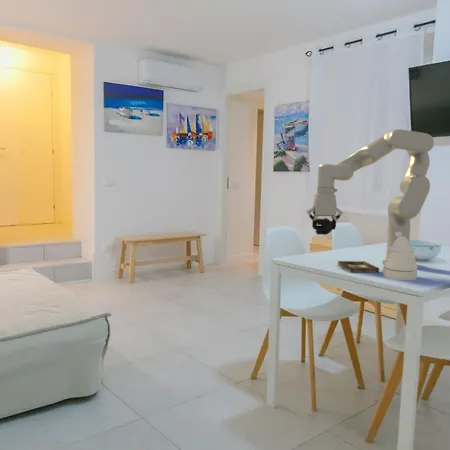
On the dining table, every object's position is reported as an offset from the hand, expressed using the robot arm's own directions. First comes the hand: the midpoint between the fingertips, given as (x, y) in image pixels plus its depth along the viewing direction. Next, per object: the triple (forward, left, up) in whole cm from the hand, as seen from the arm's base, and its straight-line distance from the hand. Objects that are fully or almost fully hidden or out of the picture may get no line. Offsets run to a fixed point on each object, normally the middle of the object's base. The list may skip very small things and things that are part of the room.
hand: (323, 229), depth 205 cm
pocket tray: (-12, +13, -16) cm, 24 cm away
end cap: (0, 0, -2) cm, 2 cm away
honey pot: (-23, +28, -16) cm, 40 cm away
